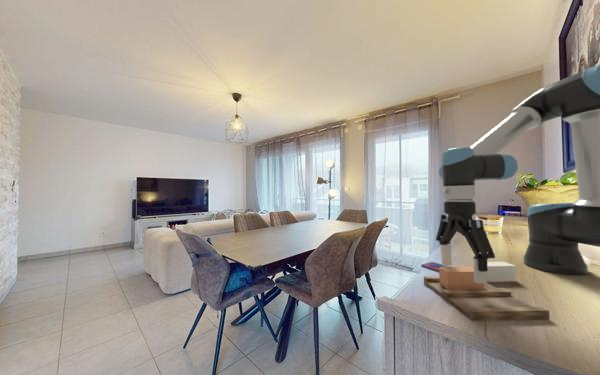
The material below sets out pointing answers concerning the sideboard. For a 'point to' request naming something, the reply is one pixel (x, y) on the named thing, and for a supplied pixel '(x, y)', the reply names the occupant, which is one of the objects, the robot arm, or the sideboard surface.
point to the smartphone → (433, 266)
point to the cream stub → (500, 272)
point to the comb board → (487, 303)
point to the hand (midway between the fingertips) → (461, 272)
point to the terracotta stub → (458, 278)
